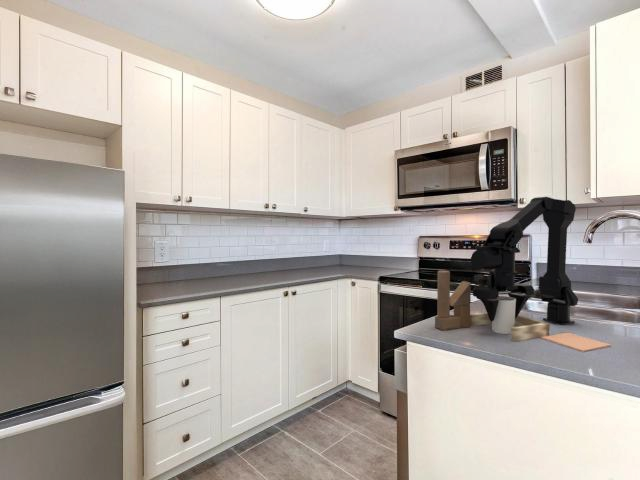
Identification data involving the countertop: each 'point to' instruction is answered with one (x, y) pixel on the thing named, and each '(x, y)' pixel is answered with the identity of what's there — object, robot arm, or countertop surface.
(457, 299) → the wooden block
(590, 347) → the terracotta mat
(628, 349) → the countertop surface
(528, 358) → the countertop surface
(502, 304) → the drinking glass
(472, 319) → the beige angled bar
